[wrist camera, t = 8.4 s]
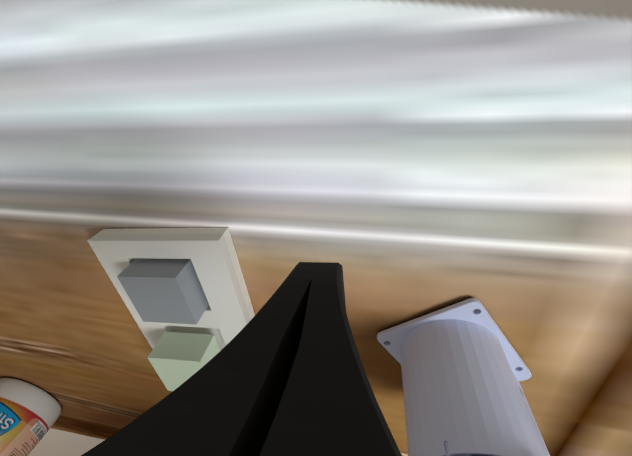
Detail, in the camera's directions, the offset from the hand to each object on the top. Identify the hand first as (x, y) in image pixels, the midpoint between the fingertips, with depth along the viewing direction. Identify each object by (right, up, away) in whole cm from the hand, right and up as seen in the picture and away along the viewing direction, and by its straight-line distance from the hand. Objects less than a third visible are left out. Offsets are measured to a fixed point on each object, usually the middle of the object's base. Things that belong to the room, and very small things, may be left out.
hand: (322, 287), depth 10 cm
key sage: (-10, -9, +16) cm, 21 cm away
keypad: (-10, -7, +18) cm, 22 cm away
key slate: (-11, -2, +14) cm, 17 cm away
